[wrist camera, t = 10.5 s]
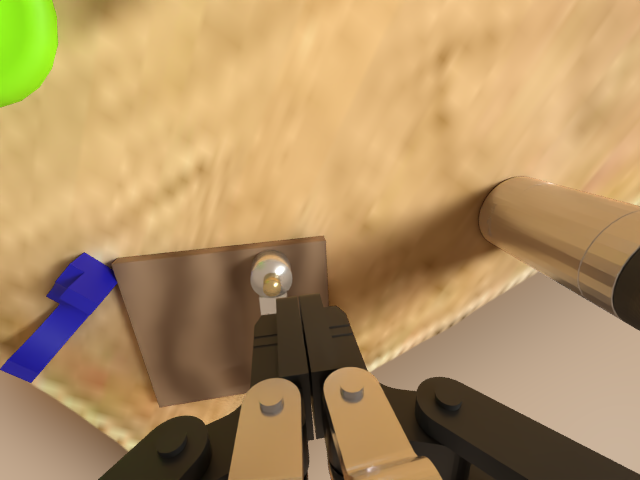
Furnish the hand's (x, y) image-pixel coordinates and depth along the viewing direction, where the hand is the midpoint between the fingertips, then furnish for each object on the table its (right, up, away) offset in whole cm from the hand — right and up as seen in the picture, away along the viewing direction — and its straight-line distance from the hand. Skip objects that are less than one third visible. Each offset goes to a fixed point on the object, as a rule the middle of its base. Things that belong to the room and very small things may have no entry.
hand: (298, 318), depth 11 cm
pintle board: (-10, -8, +30) cm, 32 cm away
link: (-5, -7, +28) cm, 29 cm away
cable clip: (-27, -4, +26) cm, 38 cm away
